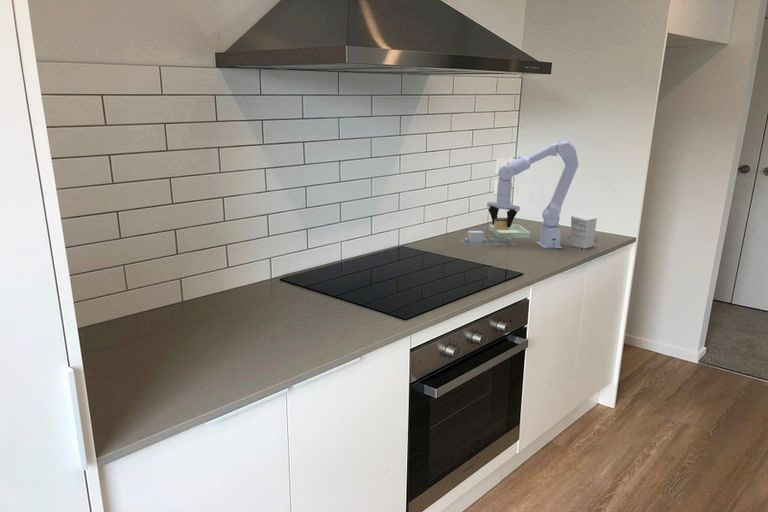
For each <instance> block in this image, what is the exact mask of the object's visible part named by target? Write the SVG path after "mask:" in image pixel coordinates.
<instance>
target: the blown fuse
mask: <svg viewBox="0 0 768 512" xmlns="http://www.w3.org/2000/svg"><path fill="white" fill-rule="evenodd" d="M509 228H510V227H507V217H497V218H494V229H495V230H509Z"/></svg>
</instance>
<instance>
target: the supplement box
mask: <svg viewBox="0 0 768 512" xmlns="http://www.w3.org/2000/svg"><path fill="white" fill-rule="evenodd" d="M571 217H572V216H571ZM597 221H598V219H597V217H594V216H588V215H583V214H580V215H577V216H574V217H572V227H571V226H570V227H571V230H570V239H569V246H570V245H572V246H571V247H573V246H576V247H575V248H577V247H580V248H579V249H581V248H583V249H582V250H586V249H589V247H590V248H593V247H594V246H595V237H596V228H597V227H596V226H597ZM592 246H593V247H592ZM585 248H586V249H585Z"/></svg>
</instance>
